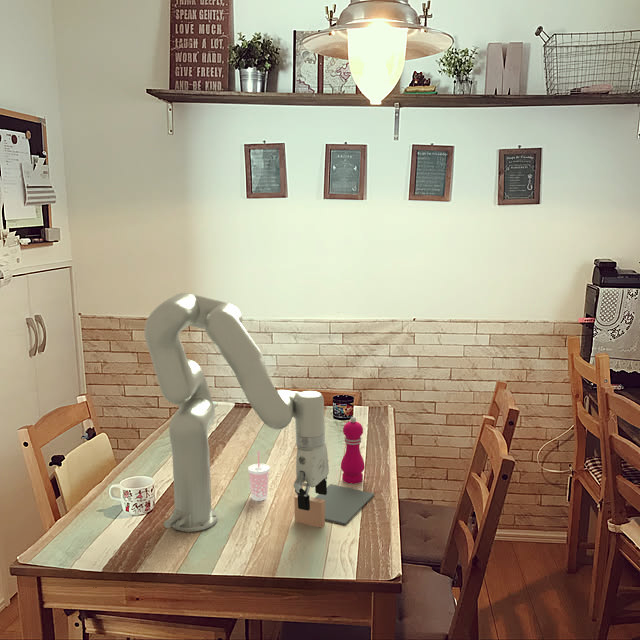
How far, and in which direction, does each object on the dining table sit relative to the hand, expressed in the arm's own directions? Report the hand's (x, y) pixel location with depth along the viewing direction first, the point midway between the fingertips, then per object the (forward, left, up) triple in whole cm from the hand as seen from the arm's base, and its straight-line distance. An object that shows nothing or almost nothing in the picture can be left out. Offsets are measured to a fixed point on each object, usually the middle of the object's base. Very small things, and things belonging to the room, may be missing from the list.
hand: (312, 501), depth 173 cm
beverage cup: (+7, +21, -6) cm, 23 cm away
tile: (0, +1, -6) cm, 6 cm away
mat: (+13, -1, -6) cm, 14 cm away
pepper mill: (+30, +2, -6) cm, 30 cm away
